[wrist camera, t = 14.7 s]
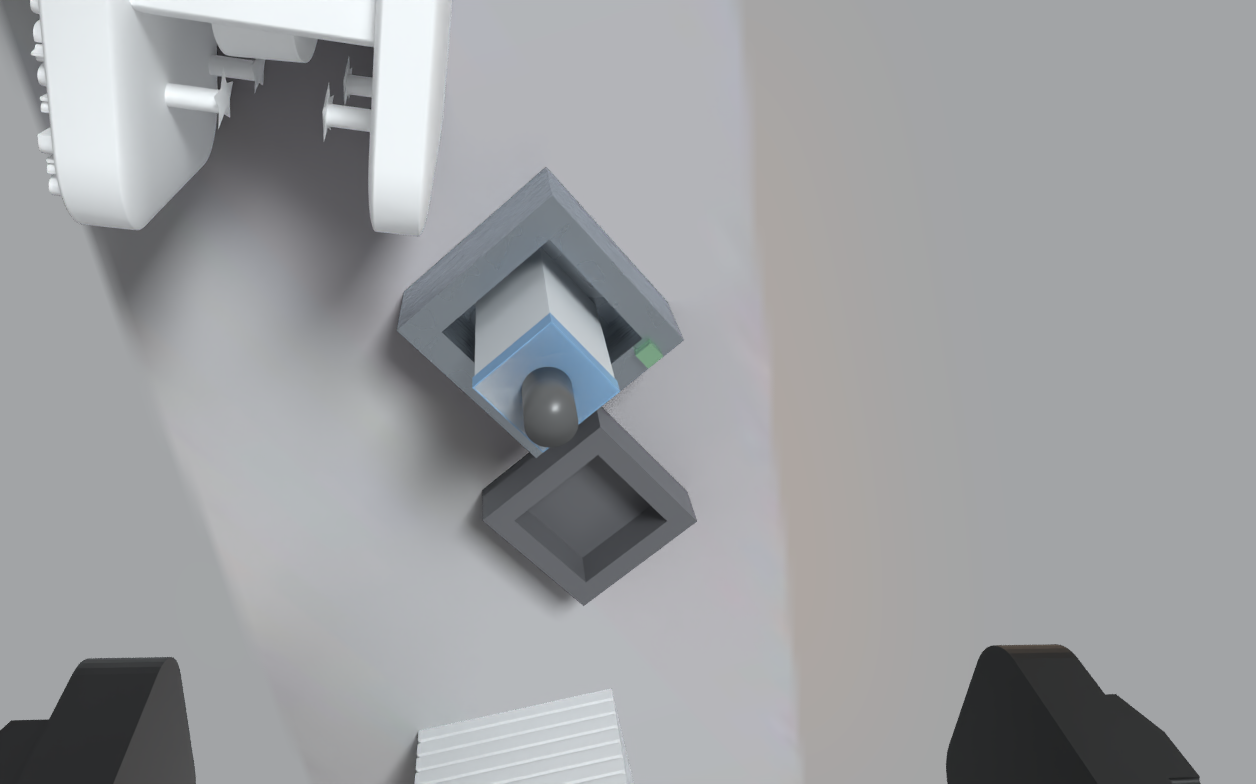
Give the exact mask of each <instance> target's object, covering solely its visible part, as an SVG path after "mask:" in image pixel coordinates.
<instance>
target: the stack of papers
mask: <svg viewBox="0 0 1256 784" xmlns="http://www.w3.org/2000/svg"><path fill="white" fill-rule="evenodd" d="M418 742H419V744H418V746H417V756H418V758H417V759H416V771H417V773H415V784H634V780H633V776H632V772H631V768H630V763H629V759H628V755H627V751H626V746H625V742H624V738H623V734H622V730H621V725H620V721H619V717H618V713H617V708H616V704H615V700H614V696H613V692H612V688H611V689H606V690H602V691H597V692H593V693H588V694H584V695H579V696H575V697H570V698H565V699H561V700H556V701H552V702H547V703H543V704H538V705H534V706H529V707H525V708H520V709H515V710H511V711H506V712H502V713H497V714H493V715H488V716H484V717H479V718H474V719H470V720H465V721H461V722H456V723H452V724H447V725H443V726H438V727H434V728H429V729H424V730H420V731H419V732H418Z"/></svg>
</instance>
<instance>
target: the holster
mask: <svg viewBox="0 0 1256 784" xmlns="http://www.w3.org/2000/svg"><path fill="white" fill-rule="evenodd" d="M483 521H484V522H485V523H486V524H487V525H488V526H490V527H491V528H492V529H493V530H494V531H495V532H497V533H498V534H499V535H500V536H501V537H503V538H504V539H505V540H506V541H507V542H509V543H510V544H511V545H512V546H513V547H514V548H516V549H517V550H518V551H519V552H520V553H522V554H523V555H524V556H525V557H526V558H527V559H529V560H530V561H531V562H532V563H533V564H535V565H536V566H537V567H538V568H539V569H541V570H542V571H543V572H544V573H545V574H546V575H548V576H549V577H550V578H551V579H552V580H554V581H555V582H556V583H557V584H558V585H560V586H561V587H562V588H563V589H564V590H565V591H567V592H568V593H569V594H570V595H571V596H573V597H574V598H575V599H576V600H577V601H579V602H580V603H581V604H582V605H583V606H584V605H586V604H587V603H588V602H590V601H591V600H592V599H594V598H595V597H596V596H598V595H599V594H600V593H602V592H603V591H604V590H606V589H607V588H608V587H610V586H611V585H612V584H614V583H615V582H616V581H618V580H619V579H620V578H622V577H623V576H624V575H626V574H627V573H628V572H630V571H631V570H632V569H634V568H635V567H636V566H638V565H639V564H641V563H642V562H643V561H645V560H646V559H647V558H649V557H650V556H651V555H653V554H654V553H655V552H657V551H658V550H659V549H661V548H662V547H663V546H665V545H666V544H667V543H669V542H670V541H671V540H673V539H674V538H675V537H677V536H678V535H679V534H681V533H682V532H683V531H685V530H686V529H687V528H689V527H690V526H691V525H693V524H694V523H695V522H697V520H696V517H695V514H694V511H693V508H692V504H691V501H690V498H689V495H688V492H687V491H686V490H685V489H684V488H683V487H682V486H681V485H680V484H679V483H678V482H677V481H676V480H675V479H674V478H673V477H672V476H671V475H670V474H669V473H668V472H667V471H666V470H665V469H664V468H663V467H662V466H661V465H660V464H659V463H658V462H657V461H656V460H655V459H654V458H653V457H652V456H651V455H650V454H649V453H648V452H647V451H646V450H645V449H644V448H643V447H642V446H641V445H640V444H639V443H638V442H637V441H636V440H635V439H634V438H633V437H632V436H631V435H630V434H629V433H628V432H627V431H626V430H624V429H623V428H622V427H621V426H620V425H619V424H618V423H617V422H616V421H615V420H614V419H613V418H612V417H611V416H610V415H609V414H608V413H607V412H606V411H605V410H604V409H603V408H602V407H600V408H599V409H597V410H596V411H595V412H594V413H592V414H591V415H590V416H589V417H587V418H586V419H585V420H584V421H582V422H581V423H580V424H579V425H578V429H577V432H576V434H575V435H574V437H573V438H572V439H571V440H570V441H569V442H567V443H566V444H564V445H561V446H558V447H553V448H548V449H547V450H546V451H545V452H543V453H542V454H541V455H539V456H538V457H537V458H536V457H534V456H533V455H532V454H531V453H530V452H529V453H528V454H527V455H526V456H524V457H523V458H522V459H521V460H519V461H518V462H517V463H516V464H514V465H513V466H512V467H511V468H509V469H508V470H507V471H506V472H504V473H503V474H502V475H501V476H499V477H498V478H497V479H496V480H495V481H493V482H492V483H491V484H490V485H488V486H487V487H486V488H485V489H483Z"/></svg>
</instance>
